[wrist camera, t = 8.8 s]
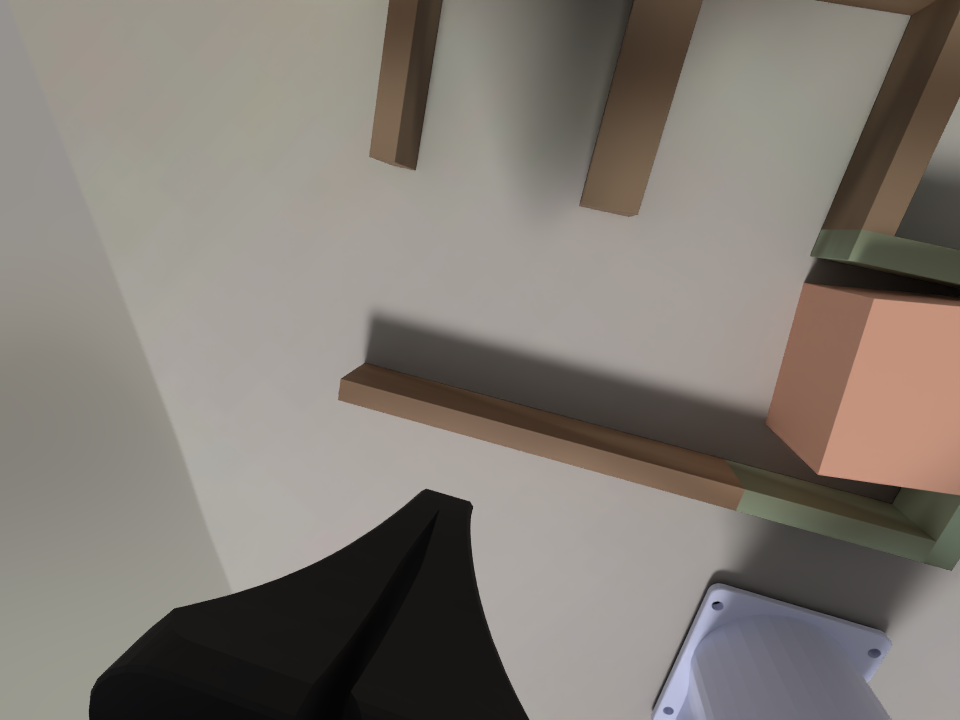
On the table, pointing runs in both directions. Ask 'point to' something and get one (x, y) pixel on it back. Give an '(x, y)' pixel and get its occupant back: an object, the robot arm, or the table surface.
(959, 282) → the frame
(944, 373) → the terracotta block
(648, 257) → the table surface
